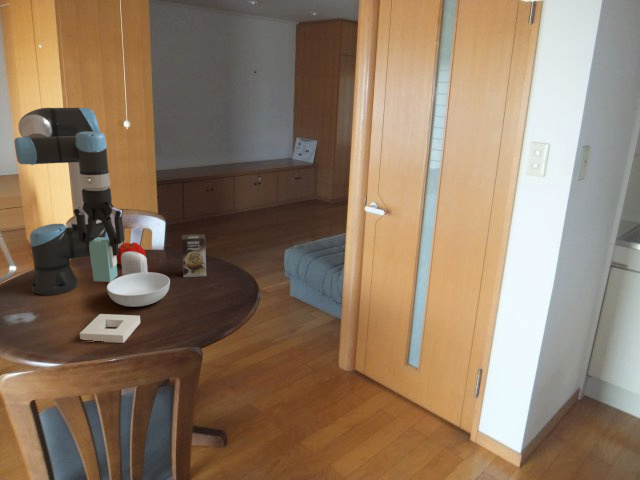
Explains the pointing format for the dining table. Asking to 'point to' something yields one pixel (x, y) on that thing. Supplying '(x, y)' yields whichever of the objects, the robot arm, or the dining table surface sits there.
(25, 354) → the dining table surface
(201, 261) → the coffee box
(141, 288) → the serving bowl
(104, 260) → the teal square peg
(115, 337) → the white square frame
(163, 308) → the dining table surface
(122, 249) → the tomato
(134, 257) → the photo printer
